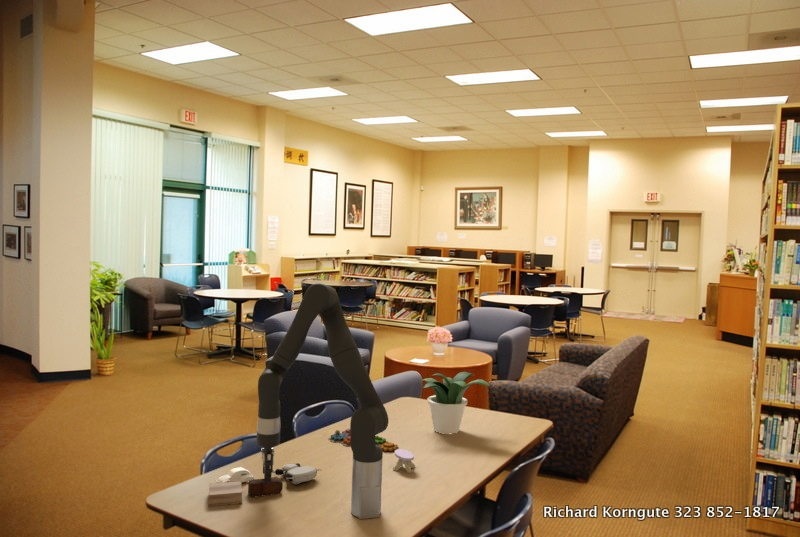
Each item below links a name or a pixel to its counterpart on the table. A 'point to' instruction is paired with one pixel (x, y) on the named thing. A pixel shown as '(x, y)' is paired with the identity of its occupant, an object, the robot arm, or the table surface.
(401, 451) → the toy table
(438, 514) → the table surface
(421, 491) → the table surface
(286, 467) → the robot toy
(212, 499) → the base brick
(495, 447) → the table surface
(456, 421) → the potted plant
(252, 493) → the brick
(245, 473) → the car
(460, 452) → the table surface
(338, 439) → the gear puzzle
